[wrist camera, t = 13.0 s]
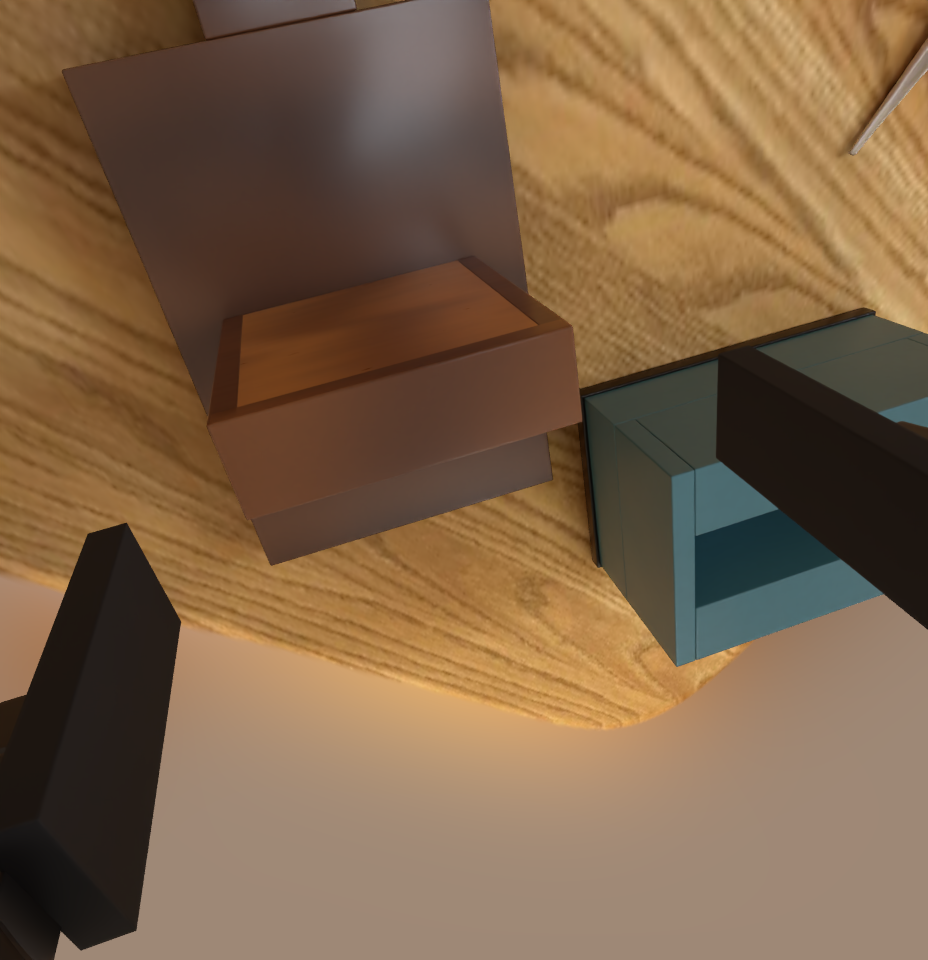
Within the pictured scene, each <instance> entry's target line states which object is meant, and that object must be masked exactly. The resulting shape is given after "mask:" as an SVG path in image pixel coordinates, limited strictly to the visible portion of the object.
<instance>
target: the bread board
mask: <svg viewBox="0 0 928 960" xmlns="http://www.w3.org/2000/svg"><path fill="white" fill-rule="evenodd" d="M193 3H194V6H195V9H196V13H197V16H198V19H199V22H200V25H201V28H202V31H203V34H204V37H205V39H206V40H207V41H202V42H197V43H192V44H187V45H182V46H177V47H172V48H167V49H162V50H157V51H152V52H147V53H142V54H137V55H132V56H127V57H122V58H117V59H112V60H107V61H102V62H97V63H92V64H87V65H82V66H77V67H72V68H67V69H63V70H62V73H63V76H64V78H65V80H66V83H67V85H68V88H69V90H70V92H71V95H72V97H73V99H74V102H75V104H76V106H77V109H78V111H79V114H80V116H81V118H82V121H83V123H84V125H85V128H86V130H87V133H88V135H89V137H90V140H91V142H92V144H93V147H94V149H95V151H96V154H97V156H98V159H99V161H100V163H101V166H102V168H103V170H104V173H105V175H106V177H107V180H108V182H109V185H110V187H111V189H112V192H113V194H114V196H115V199H116V201H117V203H118V206H119V208H120V211H121V213H122V215H123V218H124V220H125V222H126V225H127V227H128V229H129V232H130V234H131V237H132V239H133V241H134V244H135V246H136V248H137V251H138V253H139V255H140V258H141V260H142V263H143V265H144V267H145V270H146V272H147V274H148V277H149V279H150V281H151V284H152V286H153V289H154V291H155V293H156V296H157V298H158V300H159V303H160V305H161V308H162V310H163V312H164V315H165V317H166V319H167V322H168V324H169V326H170V329H171V331H172V334H173V336H174V338H175V341H176V343H177V345H178V348H179V350H180V352H181V355H182V357H183V360H184V362H185V364H186V367H187V369H188V371H189V374H190V376H191V378H192V381H193V383H194V386H195V388H196V390H197V393H198V395H199V397H200V400H201V402H202V404H203V407H204V409H205V412H206V414H207V416H208V414H209V408H210V401H211V395H212V388H213V381H214V375H215V368H216V362H217V355H218V349H219V342H220V336H221V329H222V323H223V320H224V319H228V318H231V317H235V316H239V315H245V314H249V313H253V312H257V311H261V310H265V309H269V308H273V307H276V306H280V305H284V304H288V303H292V302H296V301H300V300H304V299H308V298H312V297H316V296H320V295H324V294H327V293H331V292H335V291H339V290H343V289H347V288H351V287H355V286H359V285H363V284H367V283H371V282H374V281H378V280H382V279H386V278H390V277H394V276H398V275H402V274H406V273H410V272H414V271H418V270H421V269H425V268H429V267H433V266H437V265H441V264H445V263H449V262H453V261H457V260H459V259H463V258H467V257H471V256H475V257H477V258H478V259H480V260H481V261H482V262H484V263H485V264H487V265H488V266H489V267H491V268H492V269H494V270H495V271H496V272H498V273H499V274H501V275H502V276H503V277H505V278H506V279H508V280H509V281H510V282H512V283H513V284H515V285H516V286H517V287H519V288H520V289H522V290H523V291H524V292H526V293H527V294H528V289H527V282H526V274H525V267H524V259H523V252H522V245H521V237H520V230H519V222H518V215H517V207H516V200H515V192H514V185H513V177H512V170H511V162H510V155H509V147H508V140H507V133H506V125H505V118H504V110H503V103H502V95H501V88H500V80H499V73H498V65H497V58H496V50H495V43H494V35H493V28H492V21H491V13H490V6H489V0H405V1H400V2H395V3H391V4H386V5H381V6H376V7H371V8H366V9H361V10H356V8H357V7H356V2H355V0H193ZM355 10H356V11H355ZM551 480H553V476H552V469H551V461H550V454H549V446H548V439H547V432H546V433H543V434H539V435H536V436H532V437H529V438H526V439H522V440H519V441H516V442H512V443H509V444H505V445H502V446H499V447H495V448H492V449H488V450H485V451H482V452H478V453H475V454H471V455H468V456H465V457H461V458H458V459H454V460H451V461H448V462H444V463H441V464H438V465H434V466H431V467H427V468H424V469H421V470H417V471H414V472H410V473H407V474H404V475H400V476H397V477H393V478H390V479H387V480H383V481H380V482H377V483H373V484H370V485H366V486H363V487H360V488H356V489H353V490H349V491H346V492H343V493H339V494H336V495H332V496H329V497H326V498H322V499H319V500H316V501H312V502H309V503H305V504H302V505H299V506H295V507H292V508H288V509H285V510H282V511H278V512H275V513H271V514H268V515H265V516H261V517H258V518H254V519H251V520H252V523H253V525H254V527H255V530H256V532H257V535H258V537H259V539H260V542H261V544H262V546H263V549H264V551H265V553H266V556H267V558H268V561H269V563H270V565H271V566H272V565H275V564H279V563H282V562H285V561H288V560H292V559H295V558H298V557H302V556H305V555H308V554H311V553H315V552H318V551H321V550H325V549H328V548H331V547H334V546H338V545H341V544H344V543H347V542H351V541H354V540H357V539H361V538H364V537H367V536H370V535H374V534H377V533H380V532H384V531H387V530H390V529H393V528H397V527H400V526H403V525H406V524H410V523H413V522H416V521H420V520H423V519H426V518H429V517H433V516H436V515H439V514H443V513H446V512H449V511H452V510H456V509H459V508H462V507H465V506H469V505H472V504H475V503H479V502H482V501H485V500H488V499H492V498H495V497H498V496H502V495H505V494H508V493H511V492H515V491H518V490H521V489H524V488H528V487H531V486H534V485H538V484H541V483H544V482H547V481H551Z"/></svg>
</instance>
